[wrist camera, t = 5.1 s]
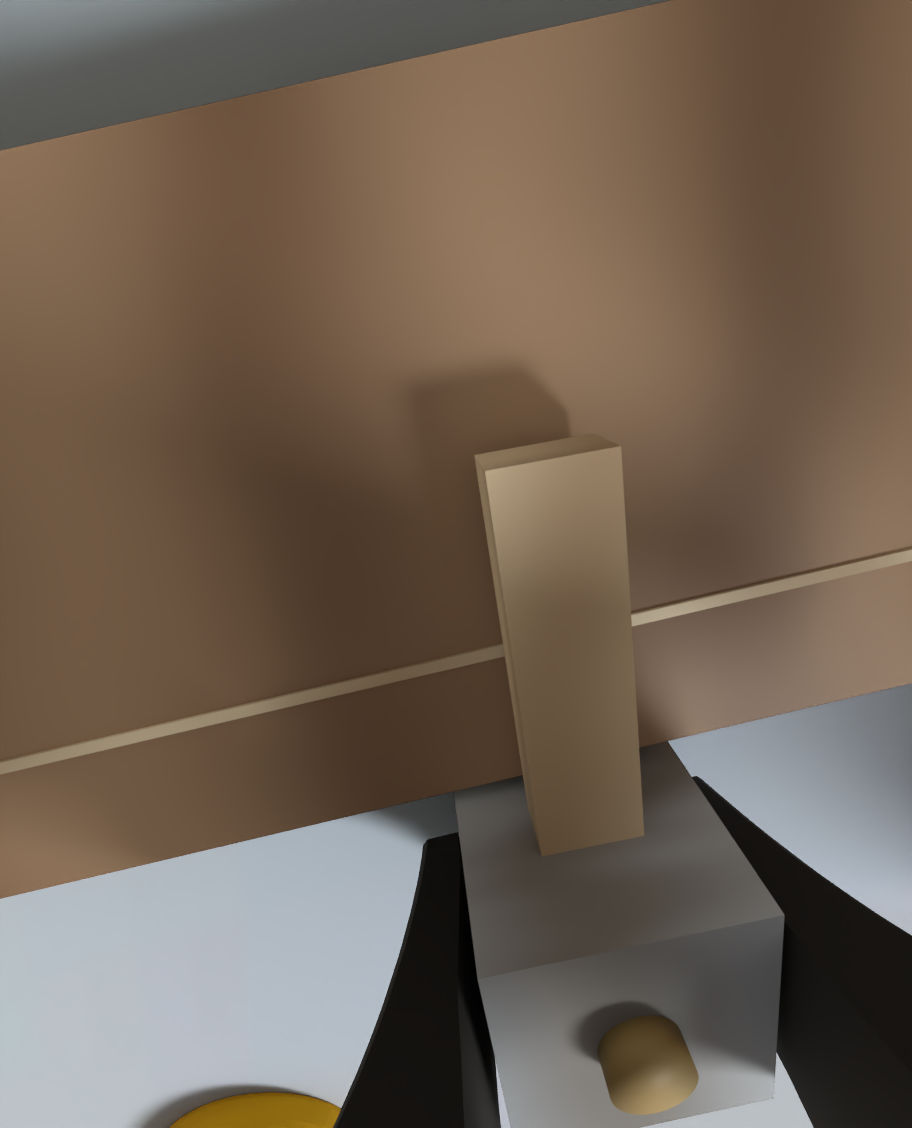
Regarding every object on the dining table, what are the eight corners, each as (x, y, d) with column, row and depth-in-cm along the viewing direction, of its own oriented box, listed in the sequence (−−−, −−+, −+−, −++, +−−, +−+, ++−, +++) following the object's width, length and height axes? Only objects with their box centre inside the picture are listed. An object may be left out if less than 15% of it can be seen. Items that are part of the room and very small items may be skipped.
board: (1092, -34, 8) (1295, -142, 7) (1001, 590, 12) (1112, 637, 10) (-574, 342, 8) (-869, 342, 6) (-153, 861, 12) (-258, 961, 10)
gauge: (618, 399, 10) (851, 462, 5) (645, 840, 14) (793, 1139, 9) (386, 441, 10) (375, 551, 5) (475, 874, 14) (523, 1199, 8)
